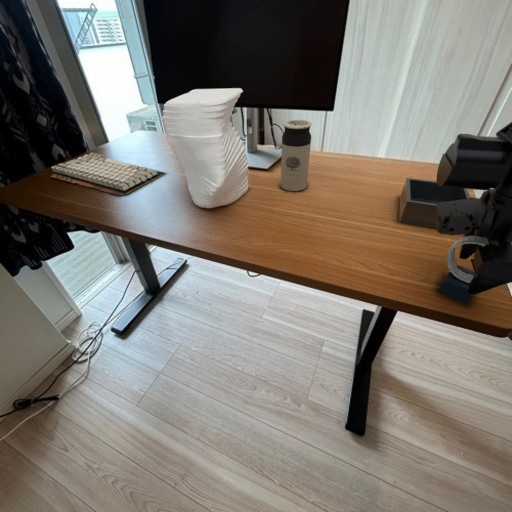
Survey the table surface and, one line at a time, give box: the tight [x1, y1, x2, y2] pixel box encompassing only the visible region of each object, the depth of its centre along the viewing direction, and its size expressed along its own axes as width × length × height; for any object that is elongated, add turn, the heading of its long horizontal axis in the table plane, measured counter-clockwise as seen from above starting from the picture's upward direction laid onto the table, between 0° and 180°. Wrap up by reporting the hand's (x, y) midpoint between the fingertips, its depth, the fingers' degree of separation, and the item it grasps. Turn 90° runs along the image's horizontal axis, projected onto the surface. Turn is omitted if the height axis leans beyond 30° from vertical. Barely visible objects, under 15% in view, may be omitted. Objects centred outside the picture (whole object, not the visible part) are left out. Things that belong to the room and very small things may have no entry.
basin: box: [399, 177, 471, 229], centre depth 67 cm, size 14×14×6 cm
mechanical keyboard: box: [50, 152, 167, 196], centre depth 93 cm, size 38×19×3 cm, turn 63°
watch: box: [438, 236, 489, 305], centre depth 45 cm, size 6×8×11 cm
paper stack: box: [161, 87, 250, 209], centre depth 72 cm, size 21×27×26 cm
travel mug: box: [280, 119, 313, 192], centre depth 77 cm, size 8×8×18 cm
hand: (466, 274), depth 47 cm, fingers open, 9 cm apart
